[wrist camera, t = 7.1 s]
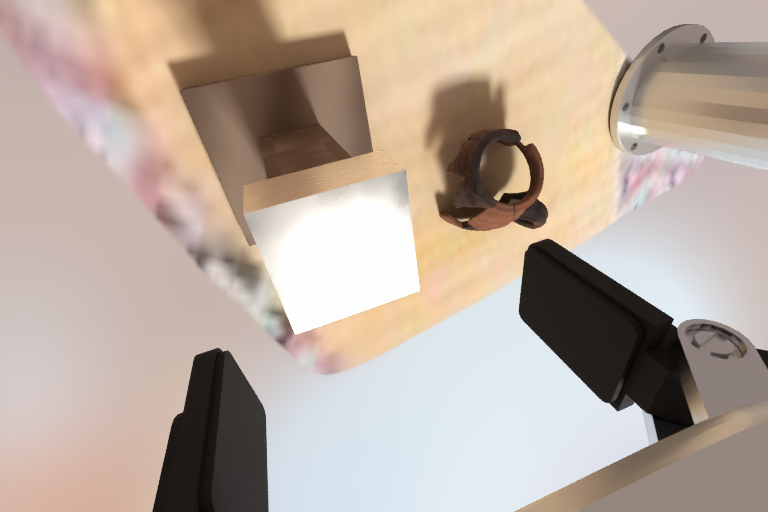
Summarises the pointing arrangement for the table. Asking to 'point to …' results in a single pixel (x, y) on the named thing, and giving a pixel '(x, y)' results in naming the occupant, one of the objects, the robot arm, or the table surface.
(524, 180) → the table surface
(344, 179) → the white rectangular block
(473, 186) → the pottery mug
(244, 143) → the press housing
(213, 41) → the table surface
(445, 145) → the table surface
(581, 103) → the table surface
